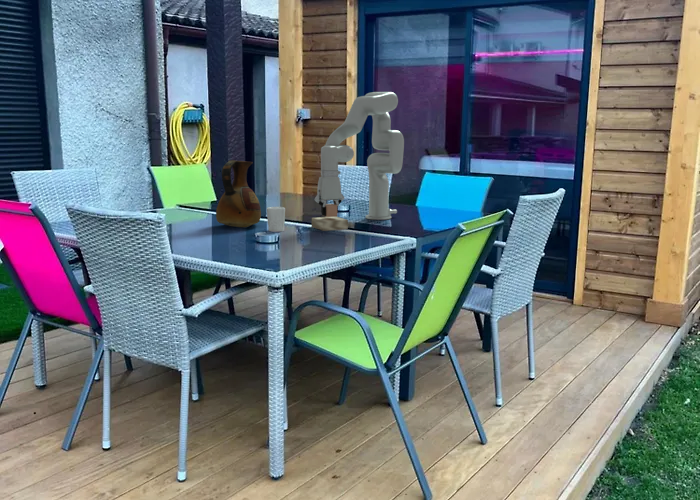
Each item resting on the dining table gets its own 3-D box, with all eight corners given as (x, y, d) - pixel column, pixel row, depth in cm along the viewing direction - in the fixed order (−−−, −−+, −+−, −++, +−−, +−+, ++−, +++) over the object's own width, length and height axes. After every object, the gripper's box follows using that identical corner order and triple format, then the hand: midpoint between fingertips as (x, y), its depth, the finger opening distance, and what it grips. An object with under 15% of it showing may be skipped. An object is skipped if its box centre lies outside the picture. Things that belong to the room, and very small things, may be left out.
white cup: (282, 232, 289) (282, 209, 287) (264, 231, 291) (264, 208, 289) (287, 229, 297) (287, 207, 295) (270, 228, 298) (270, 206, 296)
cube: (332, 214, 304) (332, 203, 303) (337, 216, 300) (337, 205, 299) (322, 215, 301) (322, 204, 300) (327, 217, 297) (327, 205, 296)
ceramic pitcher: (269, 225, 308) (268, 159, 302) (244, 232, 290) (242, 162, 284) (233, 222, 316) (231, 157, 310) (207, 228, 298) (204, 160, 292)
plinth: (335, 224, 310) (335, 216, 309) (347, 228, 299) (347, 219, 298) (311, 226, 304) (311, 218, 303) (323, 230, 294) (323, 221, 293)
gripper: (342, 172, 304) (342, 212, 308) (308, 174, 296) (308, 215, 300) (350, 174, 298) (350, 215, 301) (315, 175, 290) (316, 217, 293)
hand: (329, 214), depth 300 cm, fingers closed on cube, 4 cm apart
